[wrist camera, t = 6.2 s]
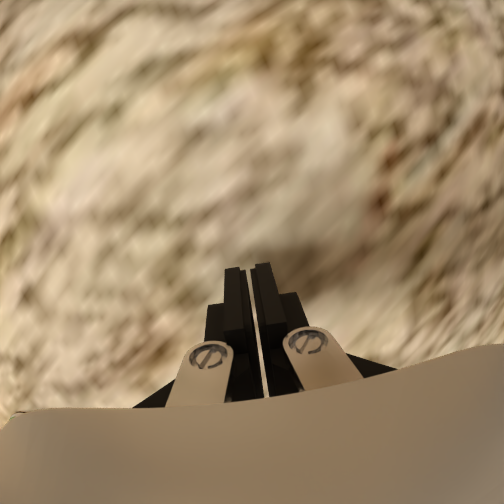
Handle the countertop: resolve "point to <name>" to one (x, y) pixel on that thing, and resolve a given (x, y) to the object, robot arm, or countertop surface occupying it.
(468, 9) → the countertop surface
